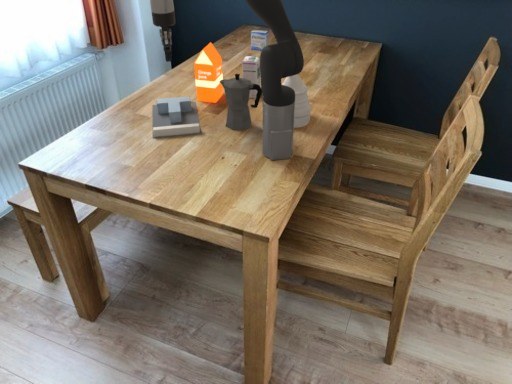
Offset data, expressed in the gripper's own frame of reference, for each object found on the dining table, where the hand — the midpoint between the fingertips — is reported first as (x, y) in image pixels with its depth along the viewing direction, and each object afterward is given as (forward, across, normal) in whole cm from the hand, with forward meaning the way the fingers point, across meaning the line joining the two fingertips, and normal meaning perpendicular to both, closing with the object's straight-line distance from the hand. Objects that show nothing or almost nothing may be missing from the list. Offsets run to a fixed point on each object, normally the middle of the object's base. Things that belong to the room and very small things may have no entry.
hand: (168, 60), depth 156 cm
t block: (+16, -11, 0) cm, 19 cm away
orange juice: (+16, +2, -14) cm, 22 cm away
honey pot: (+16, -22, -40) cm, 48 cm away
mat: (+16, -14, 0) cm, 21 cm away
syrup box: (+16, +1, -30) cm, 34 cm away
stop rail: (+16, -25, 0) cm, 30 cm away
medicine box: (+16, +55, -44) cm, 72 cm away
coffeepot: (+16, -23, -22) cm, 36 cm away
